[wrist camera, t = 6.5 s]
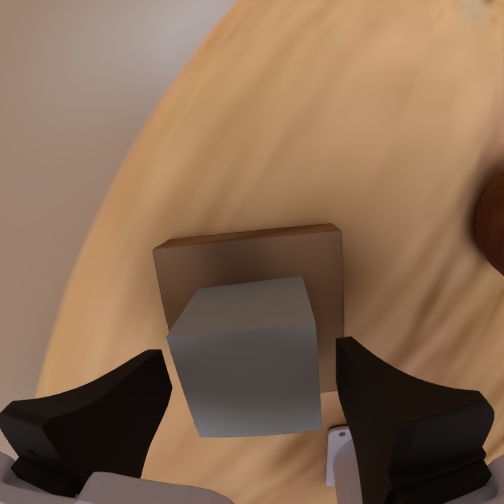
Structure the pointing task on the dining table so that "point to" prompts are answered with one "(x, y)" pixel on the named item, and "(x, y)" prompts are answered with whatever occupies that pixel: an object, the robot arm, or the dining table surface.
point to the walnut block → (262, 275)
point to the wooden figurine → (492, 223)
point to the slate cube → (249, 359)
